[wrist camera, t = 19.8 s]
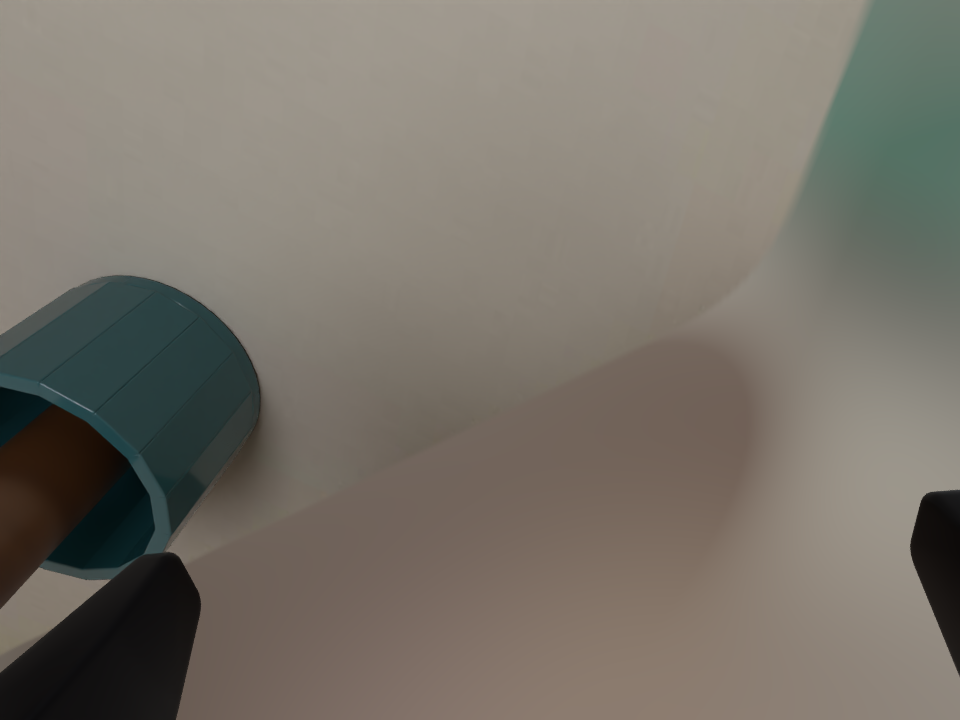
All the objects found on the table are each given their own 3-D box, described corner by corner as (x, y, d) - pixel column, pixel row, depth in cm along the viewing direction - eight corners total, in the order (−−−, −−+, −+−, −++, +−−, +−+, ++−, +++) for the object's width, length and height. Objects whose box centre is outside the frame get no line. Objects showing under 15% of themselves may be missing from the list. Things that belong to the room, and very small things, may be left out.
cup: (257, 302, 23) (153, 409, 18) (263, 478, 27) (180, 604, 22) (35, 253, 23) (-129, 343, 18) (74, 433, 27) (-49, 546, 22)
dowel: (131, 330, 23) (-296, 679, 13) (203, 389, 24) (-140, 764, 13) (93, 377, 25) (-319, 726, 14) (162, 431, 26) (-178, 800, 15)
